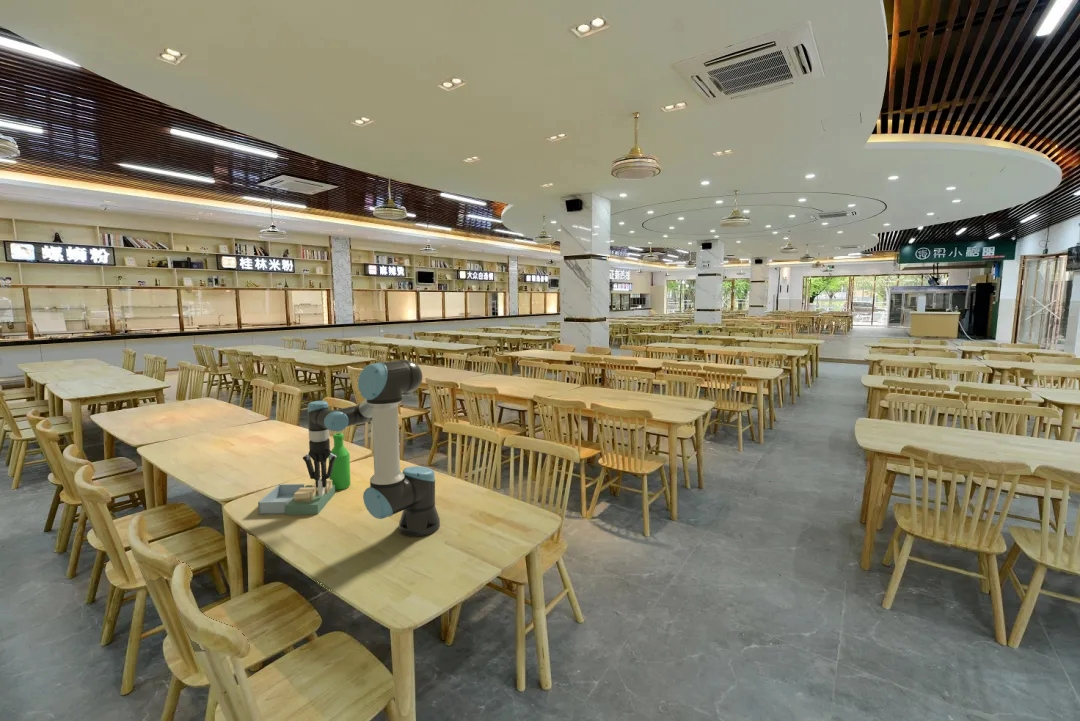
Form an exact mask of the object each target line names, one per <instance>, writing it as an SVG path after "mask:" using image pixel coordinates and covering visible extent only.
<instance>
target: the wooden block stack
mask: <svg viewBox="0 0 1080 721" xmlns="http://www.w3.org/2000/svg"><path fill="white" fill-rule="evenodd" d="M326 480H327V485H326V487H324V488H325V493H328V492H329V491H330V490H331V489H332V480H330V479H326ZM311 485H312V487H315V489H316V493H318V488H316V481H315V482H314V483H313V484H311Z"/></svg>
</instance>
